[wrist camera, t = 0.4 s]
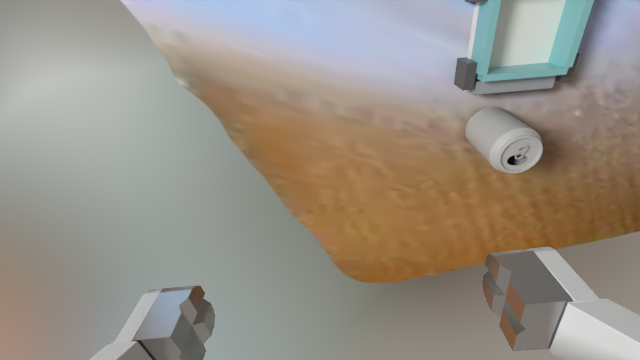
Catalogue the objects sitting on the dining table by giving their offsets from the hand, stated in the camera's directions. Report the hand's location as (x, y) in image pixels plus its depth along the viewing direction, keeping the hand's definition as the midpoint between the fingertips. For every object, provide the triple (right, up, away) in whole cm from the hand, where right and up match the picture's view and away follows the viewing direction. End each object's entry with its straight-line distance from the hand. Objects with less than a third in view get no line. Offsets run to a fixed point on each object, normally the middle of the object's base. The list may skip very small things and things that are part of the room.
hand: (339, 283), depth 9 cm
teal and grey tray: (+29, +26, +38) cm, 54 cm away
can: (+29, +13, +46) cm, 56 cm away
